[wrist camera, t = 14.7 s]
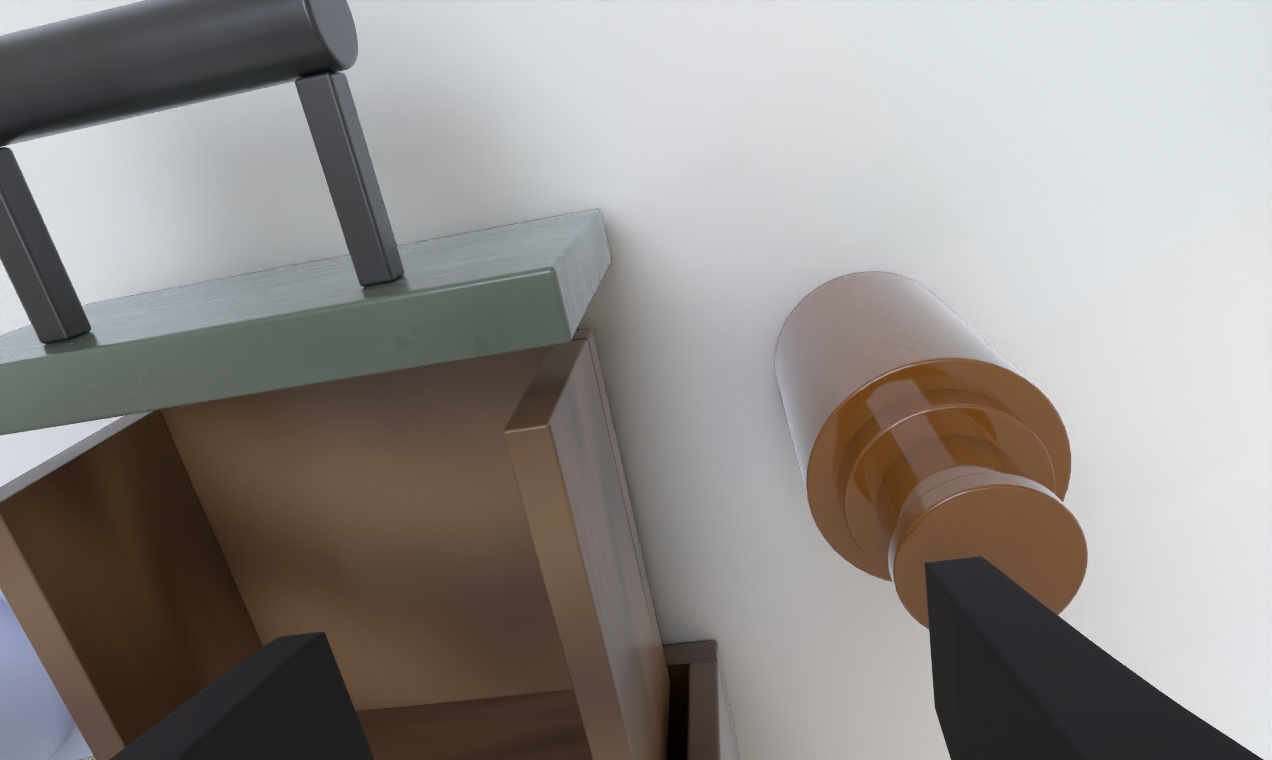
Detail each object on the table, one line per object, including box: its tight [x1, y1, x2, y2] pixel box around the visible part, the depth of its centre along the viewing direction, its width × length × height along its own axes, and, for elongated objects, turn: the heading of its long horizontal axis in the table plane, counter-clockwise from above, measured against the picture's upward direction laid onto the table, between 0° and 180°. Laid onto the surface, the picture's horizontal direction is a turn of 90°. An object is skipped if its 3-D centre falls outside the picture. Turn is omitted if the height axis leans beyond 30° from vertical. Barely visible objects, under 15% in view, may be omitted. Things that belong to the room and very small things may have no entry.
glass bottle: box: [775, 272, 1088, 629], centre depth 14 cm, size 4×4×8 cm
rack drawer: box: [0, 0, 670, 760], centre depth 16 cm, size 17×12×6 cm
